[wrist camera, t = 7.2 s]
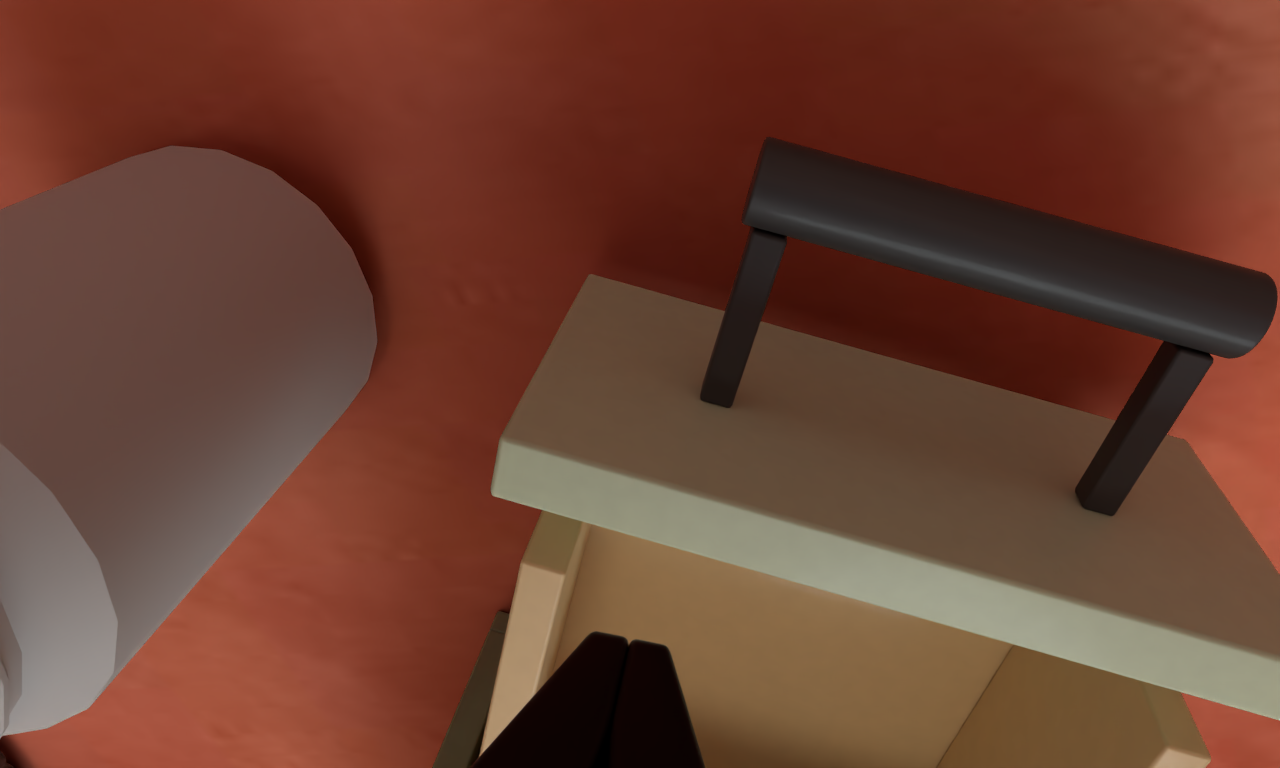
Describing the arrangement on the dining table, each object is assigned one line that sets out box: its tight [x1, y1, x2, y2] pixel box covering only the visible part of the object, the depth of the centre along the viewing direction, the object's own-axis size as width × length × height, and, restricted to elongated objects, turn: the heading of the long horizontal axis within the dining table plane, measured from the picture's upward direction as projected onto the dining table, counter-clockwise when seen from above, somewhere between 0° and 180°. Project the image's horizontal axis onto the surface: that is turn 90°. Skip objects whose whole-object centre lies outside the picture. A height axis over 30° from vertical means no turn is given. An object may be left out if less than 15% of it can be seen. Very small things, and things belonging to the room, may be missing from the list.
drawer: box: [479, 137, 1280, 768], centre depth 19 cm, size 19×13×7 cm
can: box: [0, 146, 378, 738], centre depth 17 cm, size 8×8×12 cm
